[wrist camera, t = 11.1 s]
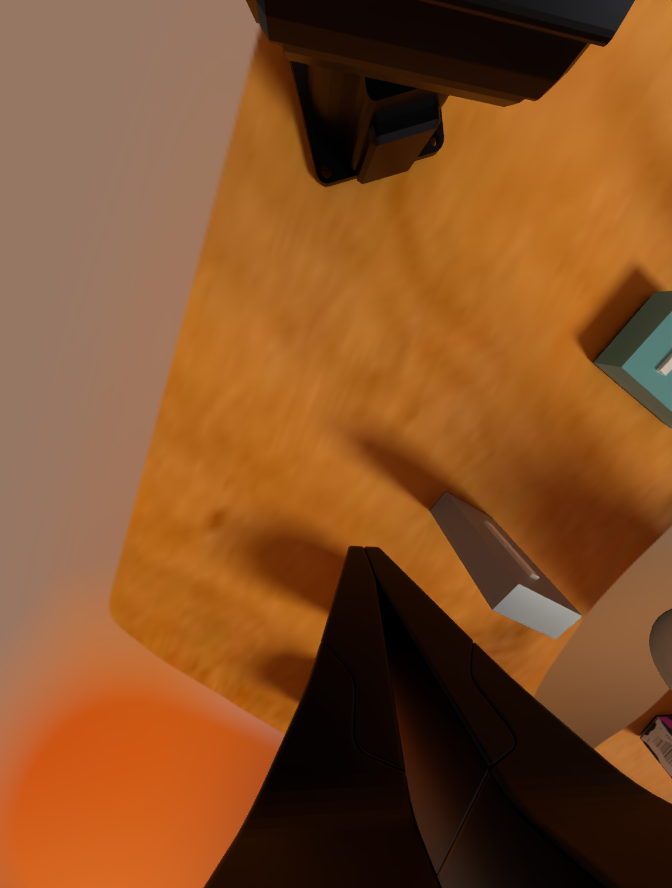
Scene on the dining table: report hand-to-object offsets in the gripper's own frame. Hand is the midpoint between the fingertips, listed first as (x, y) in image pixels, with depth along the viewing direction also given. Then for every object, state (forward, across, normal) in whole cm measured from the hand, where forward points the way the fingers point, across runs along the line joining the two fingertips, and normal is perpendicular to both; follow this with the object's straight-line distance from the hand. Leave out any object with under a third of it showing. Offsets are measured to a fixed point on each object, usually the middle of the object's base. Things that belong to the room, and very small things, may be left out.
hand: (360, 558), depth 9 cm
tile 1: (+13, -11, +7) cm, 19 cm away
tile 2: (+12, -18, -8) cm, 23 cm away
